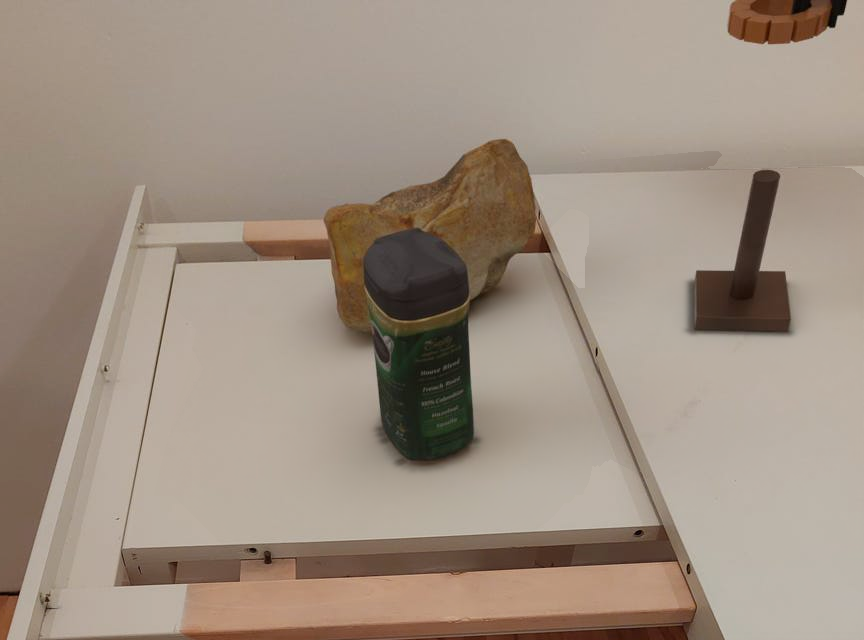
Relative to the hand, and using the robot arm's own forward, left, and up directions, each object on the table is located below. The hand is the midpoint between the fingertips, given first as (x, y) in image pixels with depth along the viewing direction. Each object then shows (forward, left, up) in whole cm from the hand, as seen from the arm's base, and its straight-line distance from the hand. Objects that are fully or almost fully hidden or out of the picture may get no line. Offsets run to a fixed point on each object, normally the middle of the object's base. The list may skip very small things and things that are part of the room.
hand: (815, 22), depth 98 cm
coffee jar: (+34, +49, -18) cm, 62 cm away
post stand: (+5, +26, -17) cm, 32 cm away
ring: (+4, 0, 0) cm, 4 cm away
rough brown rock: (+39, +24, -18) cm, 49 cm away
